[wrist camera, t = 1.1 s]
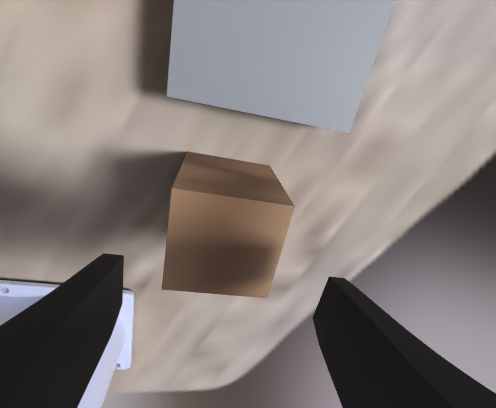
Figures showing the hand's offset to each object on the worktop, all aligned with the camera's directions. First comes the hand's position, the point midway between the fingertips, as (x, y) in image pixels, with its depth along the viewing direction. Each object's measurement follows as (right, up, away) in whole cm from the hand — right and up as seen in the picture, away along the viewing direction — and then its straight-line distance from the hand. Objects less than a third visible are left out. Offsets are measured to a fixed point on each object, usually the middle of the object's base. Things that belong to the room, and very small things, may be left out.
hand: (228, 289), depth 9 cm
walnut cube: (-1, +4, +8) cm, 9 cm away
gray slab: (+2, +13, +4) cm, 13 cm away
